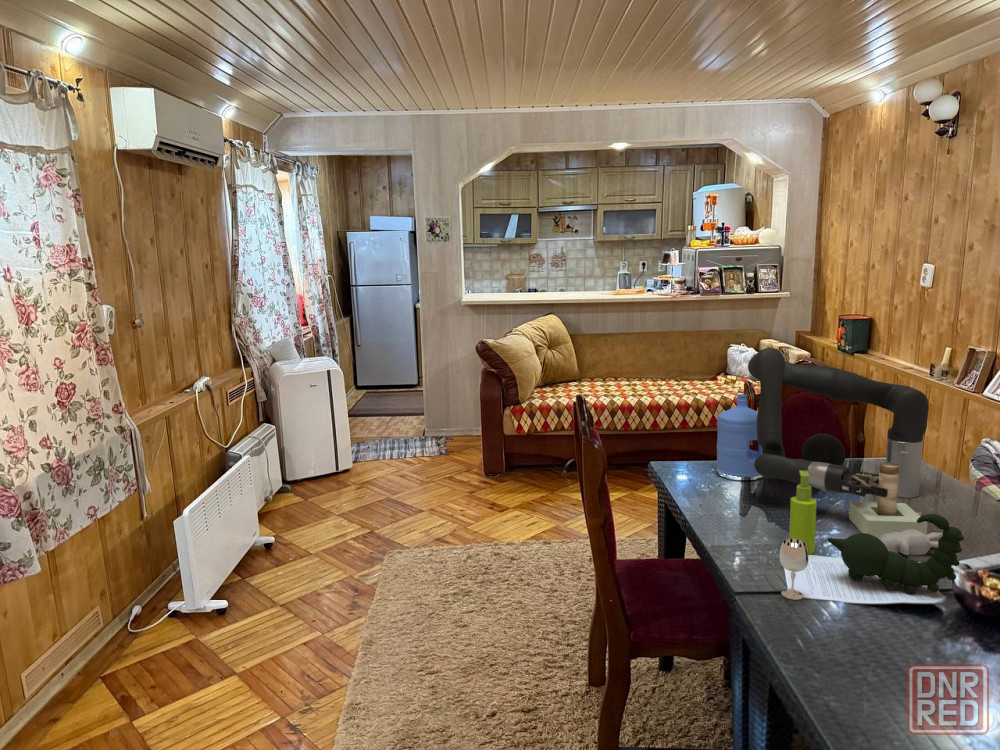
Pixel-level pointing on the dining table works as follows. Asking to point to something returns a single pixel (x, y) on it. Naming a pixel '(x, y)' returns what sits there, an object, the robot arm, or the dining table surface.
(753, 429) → the water jug
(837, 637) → the dining table surface
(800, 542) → the wineglass
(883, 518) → the socket block
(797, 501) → the soap dispenser
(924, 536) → the bunny figurine
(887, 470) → the peg
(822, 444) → the black ball on pedestal
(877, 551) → the toy figurine
